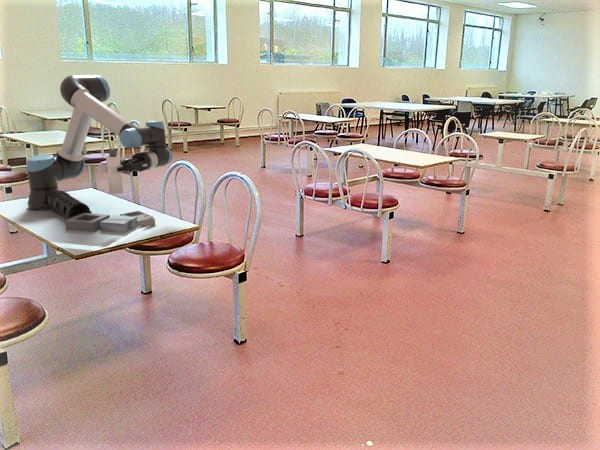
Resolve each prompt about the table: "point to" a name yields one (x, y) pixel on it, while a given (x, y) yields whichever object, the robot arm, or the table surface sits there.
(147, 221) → the handheld gaming device
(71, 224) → the socket block
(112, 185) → the white bottle
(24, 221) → the table surface
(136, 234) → the table surface
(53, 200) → the muzzle brake
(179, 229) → the table surface
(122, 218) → the stand
